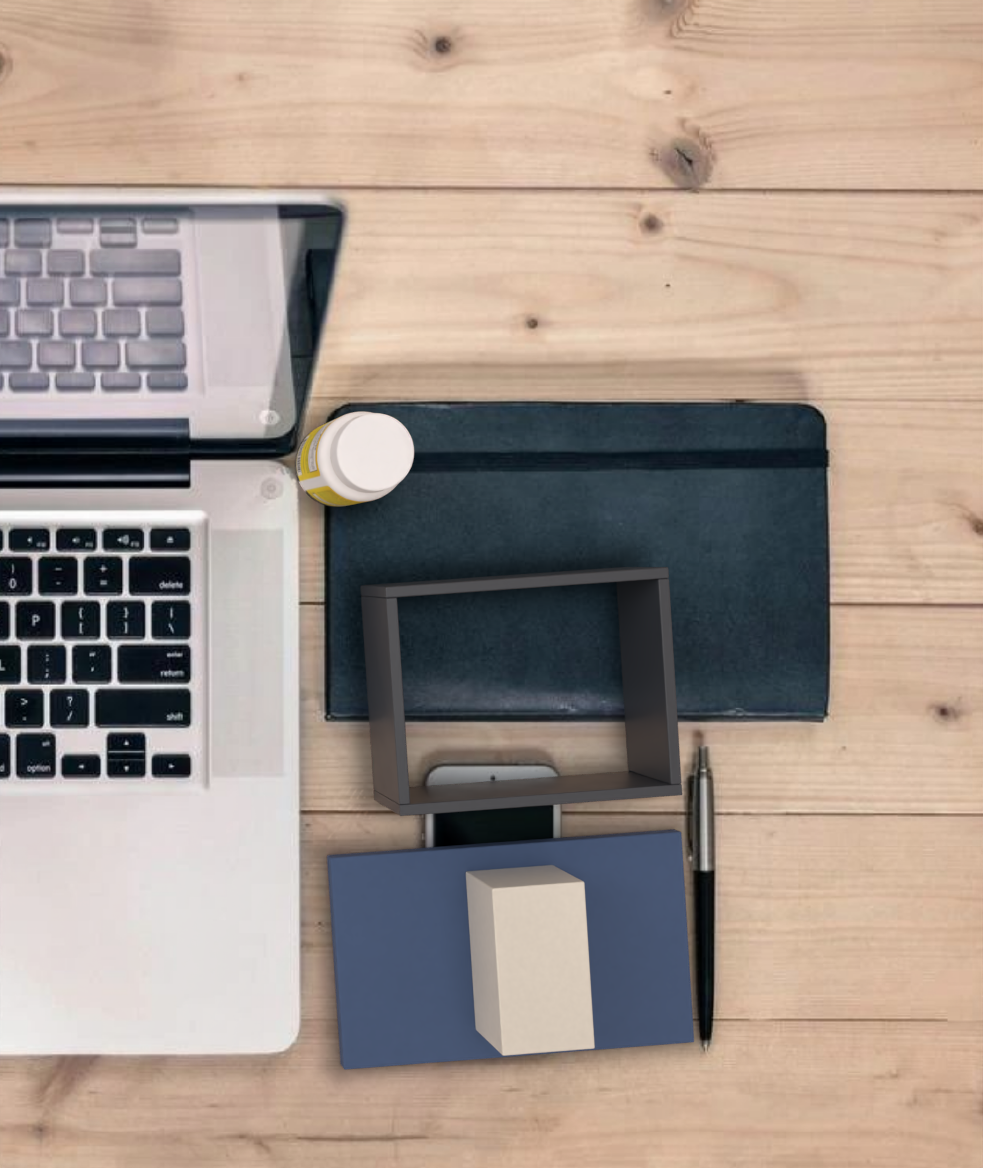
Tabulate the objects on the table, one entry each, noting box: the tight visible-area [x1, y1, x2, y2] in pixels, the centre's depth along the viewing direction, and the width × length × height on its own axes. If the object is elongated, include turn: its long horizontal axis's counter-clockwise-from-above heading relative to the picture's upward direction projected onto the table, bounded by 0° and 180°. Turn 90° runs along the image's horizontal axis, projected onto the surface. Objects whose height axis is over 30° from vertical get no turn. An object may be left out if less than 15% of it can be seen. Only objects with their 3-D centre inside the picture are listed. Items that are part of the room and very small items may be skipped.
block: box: [466, 865, 595, 1056], centre depth 73 cm, size 9×5×4 cm, turn 4°
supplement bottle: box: [294, 411, 415, 508], centre depth 71 cm, size 5×5×8 cm
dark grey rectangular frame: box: [359, 566, 683, 817], centre depth 73 cm, size 12×15×6 cm
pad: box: [326, 828, 695, 1071], centre depth 75 cm, size 12×20×2 cm, turn 94°
